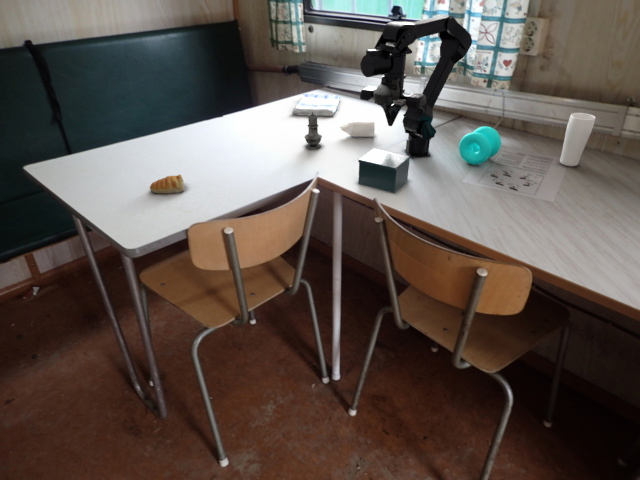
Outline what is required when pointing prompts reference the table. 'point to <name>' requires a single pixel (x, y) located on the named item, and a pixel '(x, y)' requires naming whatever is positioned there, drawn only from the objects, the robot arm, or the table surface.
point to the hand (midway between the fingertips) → (390, 125)
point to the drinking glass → (576, 137)
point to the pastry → (168, 185)
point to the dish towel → (317, 105)
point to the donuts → (480, 145)
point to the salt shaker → (313, 134)
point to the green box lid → (384, 159)
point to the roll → (359, 128)
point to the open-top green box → (383, 177)
